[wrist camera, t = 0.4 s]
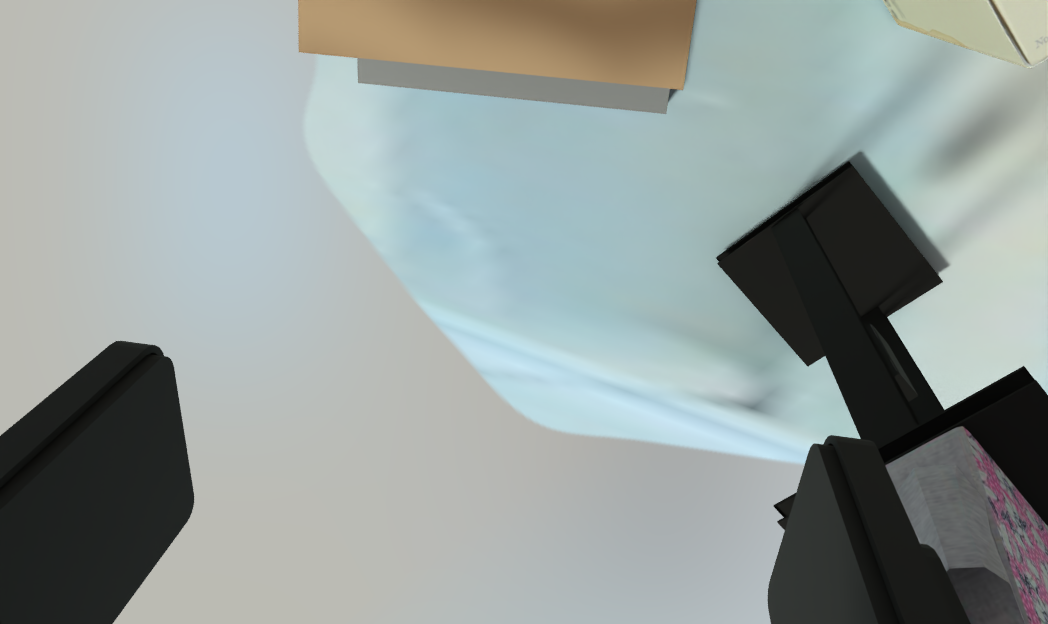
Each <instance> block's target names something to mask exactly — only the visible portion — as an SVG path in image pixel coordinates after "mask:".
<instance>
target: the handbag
mask: <svg viewBox="0 0 1048 624" xmlns="http://www.w3.org/2000/svg"><path fill="white" fill-rule="evenodd" d="M716 259H717V260H718V261H719V262H718V265H719V266H720V267H721V268H722V269H723V271H724V272H725V273H726V274H727V275H728V276H729V277H730V278H731V280H732V281H733V282H734V283H735V284H736V285H737V286H738V288H739V289H740V290H741V291H742V292H743V293H744V294H745V296H746V297H747V298H748V299H749V300H750V301H751V302H752V304H753V305H754V306H755V307H756V308H757V309H758V310H759V312H760V313H761V314H762V315H763V316H764V317H765V318H766V320H767V321H768V322H769V323H770V324H771V325H772V326H773V328H774V329H775V330H776V331H777V332H778V333H779V334H780V336H781V337H782V338H783V339H784V340H785V341H786V342H787V343H788V345H789V346H790V347H791V348H792V349H793V350H794V351H795V353H796V354H797V355H798V356H799V357H800V358H801V359H802V361H803V362H804V363H805V364H806V365H807V366H809V365H811V364H813V363H814V362H816V361H817V360H819V359H821V358H822V357H824V356H826V358H827V360H828V363H829V365H830V368H831V370H832V372H833V375H834V377H835V379H836V382H837V384H838V386H839V389H840V391H841V393H842V396H843V398H844V400H845V403H846V405H847V407H848V410H849V412H850V414H851V417H852V419H853V421H854V424H855V426H856V428H857V431H858V433H859V435H860V438H861V439H863V440H870V441H872V442H874V443H875V445H876V446H877V448H878V451H879V453H880V455H881V457H882V459H883V462H884V464H885V466H886V468H887V471H888V473H889V475H890V477H891V480H892V482H893V484H894V486H895V489H896V491H897V493H898V495H899V497H900V500H901V502H902V504H903V506H904V509H905V511H906V513H907V515H908V518H909V520H910V522H911V524H912V526H913V529H914V531H915V533H916V535H917V538H918V540H919V542H920V544H927V545H929V546H930V547H932V548H933V549H934V550H935V551H936V553H937V554H938V556H939V557H940V559H941V561H942V563H943V565H944V568H945V570H946V572H947V574H948V576H949V578H950V580H951V583H952V585H953V587H954V589H955V591H956V593H957V595H958V598H959V600H960V602H961V604H962V606H963V608H964V610H965V612H966V615H967V617H968V619H969V621H970V623H971V624H1048V395H1047V394H1046V392H1045V391H1044V390H1043V389H1042V387H1041V386H1040V385H1039V383H1038V382H1037V381H1036V380H1034V378H1033V377H1032V376H1031V374H1030V373H1029V372H1028V371H1027V369H1026V368H1025V367H1024V366H1023V367H1021V368H1019V369H1018V370H1016V371H1014V372H1012V373H1010V374H1009V375H1007V376H1005V377H1003V378H1001V379H1000V380H998V381H996V382H994V383H992V384H991V385H989V386H987V387H985V388H983V389H982V390H980V391H978V392H976V393H975V394H973V395H971V396H969V397H967V398H966V399H964V400H962V401H960V402H958V403H957V404H955V405H953V406H951V407H949V408H948V409H946V410H944V409H943V407H942V405H941V404H940V402H939V401H938V399H937V397H936V396H935V394H934V392H933V391H932V389H931V388H930V386H929V384H928V383H927V381H926V380H925V378H924V376H923V375H922V373H921V371H920V370H919V368H918V367H917V365H916V363H915V362H914V360H913V359H912V357H911V355H910V354H909V352H908V350H907V349H906V347H905V346H904V344H903V342H902V341H901V339H900V338H899V336H898V334H897V333H896V331H895V329H894V328H893V326H892V325H891V323H890V321H889V320H888V318H887V317H888V316H889V315H891V314H893V313H894V312H896V311H897V310H899V309H901V308H902V307H904V306H905V305H907V304H909V303H910V302H912V301H913V300H915V299H916V298H918V297H920V296H921V295H923V294H924V293H926V292H928V291H929V290H931V289H932V288H934V287H936V286H937V285H939V284H940V283H942V282H943V281H942V280H941V278H940V277H939V276H938V275H937V273H936V272H935V271H934V269H933V268H932V267H931V266H930V264H929V263H928V262H927V260H926V259H925V258H924V257H923V255H922V254H921V253H920V251H919V250H918V249H917V248H916V246H915V245H914V244H913V242H912V241H911V240H910V239H909V237H908V236H907V235H906V233H905V232H904V231H903V230H902V228H901V227H900V226H899V225H898V223H897V222H896V221H895V219H894V218H893V217H892V216H891V214H890V213H889V212H888V210H887V209H886V208H885V207H884V205H883V204H882V203H881V201H880V200H879V199H878V198H877V196H876V195H875V194H874V192H873V191H872V190H871V189H870V187H869V186H868V185H867V183H866V182H865V181H864V180H863V178H862V177H861V176H860V174H859V173H858V172H857V171H856V169H855V168H854V167H853V166H852V165H851V163H850V162H847V163H846V164H844V165H843V166H842V167H840V168H839V169H838V170H836V171H835V172H833V173H832V174H831V175H829V176H828V177H827V178H825V179H824V180H822V181H821V182H820V183H818V184H817V185H816V186H814V187H813V188H811V189H810V190H809V191H807V192H806V193H805V194H803V195H802V196H800V197H799V198H798V199H796V200H795V201H794V202H792V203H791V204H790V205H788V206H787V207H785V208H784V209H783V210H781V211H780V212H779V213H777V214H776V215H774V216H773V217H772V218H770V219H769V220H768V221H766V222H765V223H763V224H762V225H761V226H759V227H758V228H757V229H755V230H754V231H752V232H751V233H750V234H748V235H747V236H746V237H744V238H743V239H741V240H740V241H739V242H737V243H736V244H735V245H733V246H732V247H730V248H729V249H728V250H726V251H725V252H724V253H722V254H721V255H719V256H718V257H717V258H716ZM795 496H796V493H795V494H793V495H791V496H790V497H788V498H786V499H784V500H782V501H781V502H779V503H777V504H775V505H774V507H775V508H776V509H777V511H778V512H779V513H780V514H781V515H782V516H783V517H784V518H783V519H781V520H779V521H778V524H779V525H780V526H781V527H782V528H783V529H784V530H785V529H786V526H787V522H788V519H789V516H790V512H791V509H792V506H793V503H794V499H795Z"/></svg>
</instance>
